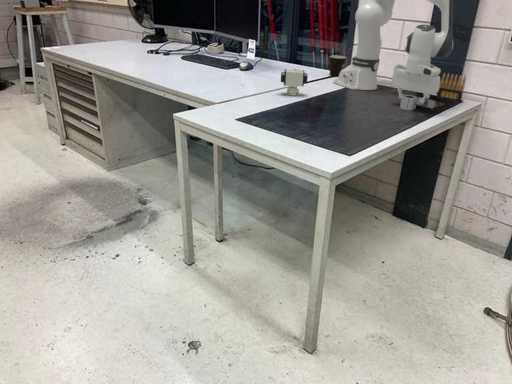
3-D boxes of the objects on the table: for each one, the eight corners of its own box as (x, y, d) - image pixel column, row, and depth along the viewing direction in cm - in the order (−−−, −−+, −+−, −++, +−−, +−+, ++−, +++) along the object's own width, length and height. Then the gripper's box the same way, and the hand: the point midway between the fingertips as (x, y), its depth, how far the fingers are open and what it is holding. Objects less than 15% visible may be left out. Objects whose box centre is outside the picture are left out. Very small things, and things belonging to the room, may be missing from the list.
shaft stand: (406, 103, 185) (408, 91, 182) (419, 98, 192) (422, 87, 190) (431, 109, 177) (434, 97, 175) (444, 105, 185) (447, 93, 182)
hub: (397, 107, 178) (399, 96, 176) (404, 105, 182) (407, 94, 179) (410, 111, 174) (412, 99, 172) (417, 108, 178) (419, 97, 175)
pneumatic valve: (305, 96, 188) (308, 70, 182) (280, 95, 188) (281, 68, 182) (304, 93, 192) (307, 67, 187) (279, 92, 192) (281, 66, 187)
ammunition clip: (435, 98, 195) (442, 72, 189) (436, 97, 196) (443, 71, 190) (459, 102, 189) (467, 76, 184) (460, 101, 191) (467, 75, 185)
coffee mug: (334, 73, 234) (336, 54, 229) (346, 76, 228) (349, 57, 224) (320, 75, 227) (322, 56, 223) (332, 78, 222) (335, 59, 217)
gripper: (390, 64, 175) (385, 97, 181) (437, 72, 162) (430, 107, 168) (398, 62, 179) (393, 94, 185) (444, 70, 166) (437, 104, 172)
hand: (411, 100), depth 176 cm, fingers open, 8 cm apart
